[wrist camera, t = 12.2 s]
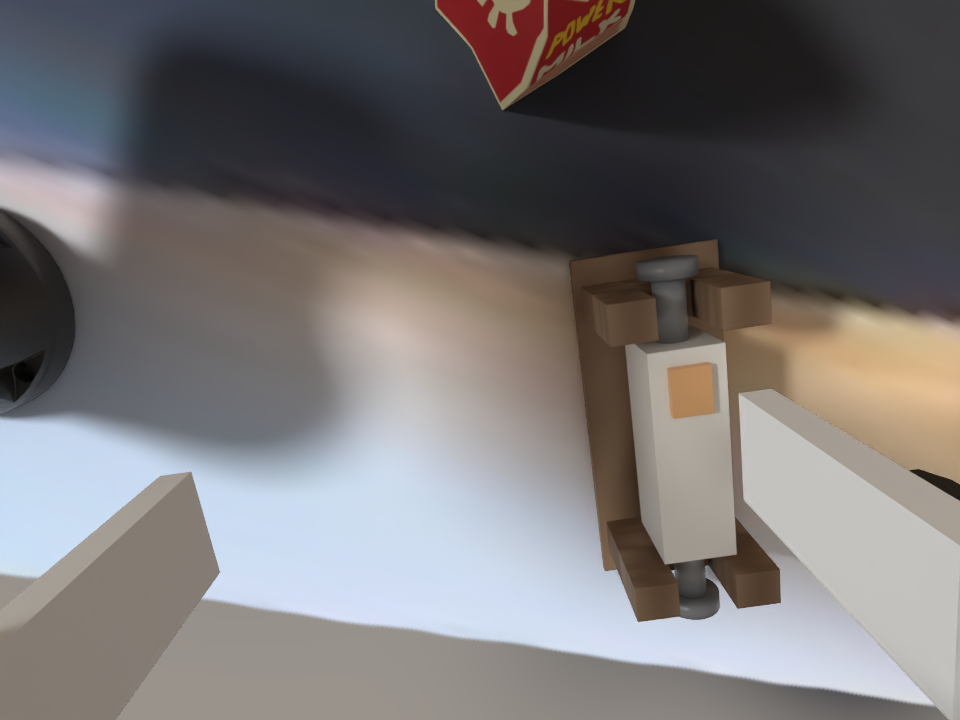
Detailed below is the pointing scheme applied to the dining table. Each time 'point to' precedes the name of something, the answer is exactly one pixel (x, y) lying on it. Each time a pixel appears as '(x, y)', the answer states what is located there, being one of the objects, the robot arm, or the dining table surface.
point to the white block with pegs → (682, 437)
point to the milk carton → (532, 37)
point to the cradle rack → (602, 338)
